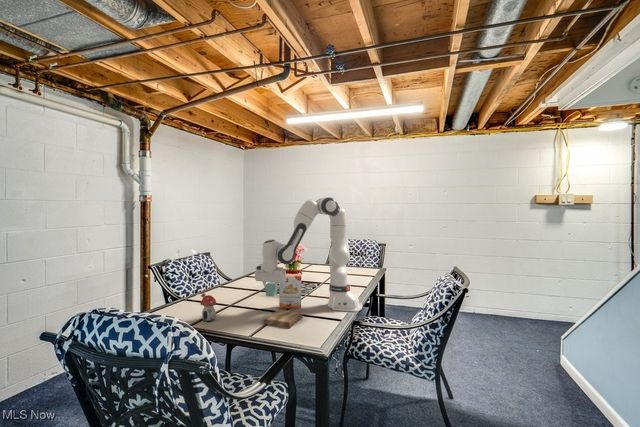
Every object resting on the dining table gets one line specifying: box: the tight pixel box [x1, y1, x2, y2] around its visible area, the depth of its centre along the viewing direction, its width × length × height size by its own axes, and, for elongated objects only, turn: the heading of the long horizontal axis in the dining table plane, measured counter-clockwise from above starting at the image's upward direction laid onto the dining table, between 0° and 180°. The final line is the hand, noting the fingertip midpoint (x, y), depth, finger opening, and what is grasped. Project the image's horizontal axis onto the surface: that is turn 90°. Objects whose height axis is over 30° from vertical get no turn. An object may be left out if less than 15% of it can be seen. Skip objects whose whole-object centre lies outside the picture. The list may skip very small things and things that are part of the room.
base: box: [263, 309, 303, 329], centre depth 171 cm, size 16×16×3 cm
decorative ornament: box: [199, 293, 217, 323], centre depth 171 cm, size 9×6×15 cm
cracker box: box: [278, 273, 302, 310], centre depth 192 cm, size 14×6×21 cm, turn 95°
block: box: [265, 282, 278, 297], centre depth 184 cm, size 5×5×7 cm
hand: (270, 289), depth 184 cm, fingers closed on block, 5 cm apart
